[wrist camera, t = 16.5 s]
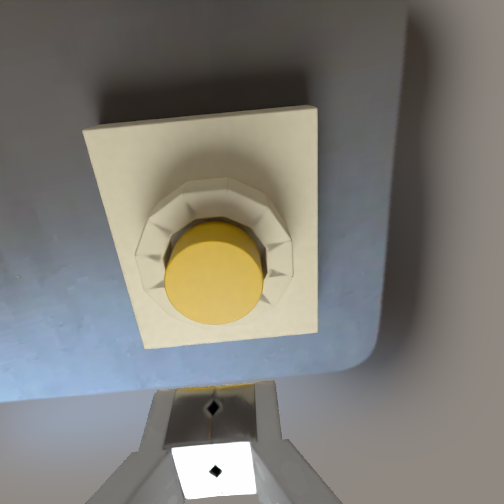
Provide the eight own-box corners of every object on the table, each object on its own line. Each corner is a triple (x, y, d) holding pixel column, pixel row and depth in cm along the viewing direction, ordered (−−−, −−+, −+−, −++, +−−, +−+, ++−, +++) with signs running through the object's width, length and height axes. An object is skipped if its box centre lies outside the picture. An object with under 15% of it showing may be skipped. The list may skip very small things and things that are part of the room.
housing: (98, 124, 16) (59, 136, 13) (309, 104, 16) (329, 110, 13) (151, 327, 22) (135, 376, 18) (311, 312, 22) (326, 358, 18)
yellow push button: (164, 225, 15) (153, 245, 13) (256, 216, 15) (259, 235, 13) (180, 302, 17) (173, 329, 15) (263, 294, 17) (266, 320, 15)
